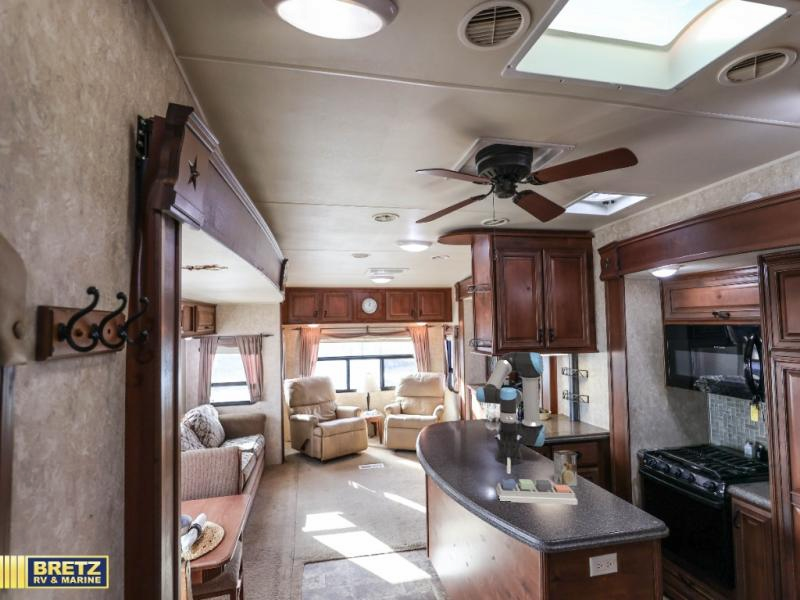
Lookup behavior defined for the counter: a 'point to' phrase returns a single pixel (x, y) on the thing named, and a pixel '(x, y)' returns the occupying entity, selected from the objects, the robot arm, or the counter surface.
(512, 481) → the key slate blue
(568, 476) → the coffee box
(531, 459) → the counter surface
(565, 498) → the keypad board
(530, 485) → the key sage
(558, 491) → the key coral
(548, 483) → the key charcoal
